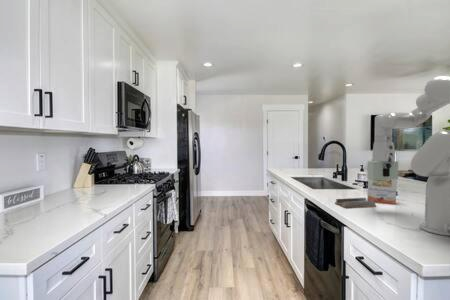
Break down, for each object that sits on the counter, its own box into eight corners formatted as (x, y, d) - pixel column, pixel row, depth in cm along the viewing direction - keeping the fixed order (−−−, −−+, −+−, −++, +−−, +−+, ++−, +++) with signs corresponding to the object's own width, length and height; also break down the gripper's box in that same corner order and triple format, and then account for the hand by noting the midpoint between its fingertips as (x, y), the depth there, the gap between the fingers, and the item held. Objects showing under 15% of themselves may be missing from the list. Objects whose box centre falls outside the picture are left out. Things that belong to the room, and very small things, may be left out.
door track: (376, 207, 138) (376, 201, 138) (346, 208, 135) (346, 202, 135) (363, 202, 148) (363, 197, 148) (334, 203, 145) (335, 198, 145)
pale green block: (397, 179, 128) (398, 161, 127) (373, 180, 125) (373, 161, 125) (391, 178, 132) (391, 160, 131) (367, 179, 129) (367, 161, 129)
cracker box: (367, 201, 149) (368, 166, 148) (367, 199, 155) (368, 165, 154) (396, 204, 143) (397, 167, 142) (394, 202, 148) (395, 166, 147)
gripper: (404, 139, 120) (403, 177, 121) (377, 139, 137) (376, 173, 137) (390, 139, 119) (389, 178, 119) (364, 139, 135) (364, 173, 136)
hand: (382, 175), depth 128 cm, fingers closed on pale green block, 4 cm apart
